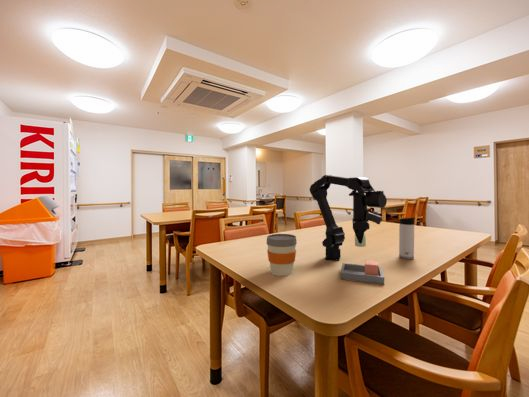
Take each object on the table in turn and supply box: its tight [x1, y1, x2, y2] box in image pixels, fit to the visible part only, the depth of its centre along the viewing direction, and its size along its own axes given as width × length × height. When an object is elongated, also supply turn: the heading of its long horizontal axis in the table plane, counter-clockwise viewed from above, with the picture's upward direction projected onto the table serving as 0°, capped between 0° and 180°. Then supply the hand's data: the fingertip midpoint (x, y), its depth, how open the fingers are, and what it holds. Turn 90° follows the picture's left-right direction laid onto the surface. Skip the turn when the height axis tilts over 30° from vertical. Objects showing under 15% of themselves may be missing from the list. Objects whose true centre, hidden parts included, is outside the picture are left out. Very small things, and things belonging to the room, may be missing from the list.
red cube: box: [364, 260, 379, 276], centre depth 92 cm, size 4×4×5 cm
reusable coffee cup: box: [266, 233, 297, 277], centre depth 99 cm, size 13×12×15 cm
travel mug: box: [398, 217, 416, 260], centre depth 116 cm, size 6×7×20 cm
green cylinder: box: [354, 233, 367, 248], centre depth 103 cm, size 4×4×5 cm
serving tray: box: [340, 262, 385, 285], centre depth 93 cm, size 15×12×3 cm
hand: (360, 242), depth 103 cm, fingers closed on green cylinder, 4 cm apart
